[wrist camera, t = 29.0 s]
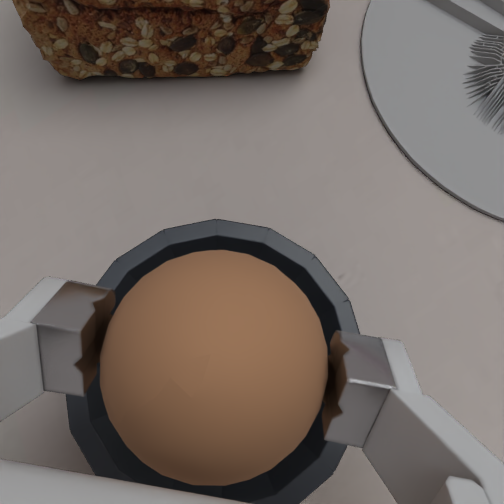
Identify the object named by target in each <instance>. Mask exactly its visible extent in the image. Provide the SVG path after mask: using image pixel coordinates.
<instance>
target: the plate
mask: <svg viewBox="0 0 504 504" xmlns="http://www.w3.org/2000/svg"><path fill="white" fill-rule="evenodd" d="M361 57H362V66H363V72H364V76H365V80H366V84H367V88H368V91H369V94H370V97H371V100H372V103H373V105H374V107H375V109H376V111H377V113H378V115H379V117H380V119H381V120H382V122H383V124H384V126H385V127H386V129H387V131H388V132H389V134H390V135H391V137H392V138H393V139H394V141H395V142H396V143H397V145H398V146H399V147H400V149H401V150H402V151H403V152H404V153H405V155H406V156H407V157H408V158H409V159H410V160H411V162H412V163H413V164H415V165H416V166H417V167H418V168H419V169H420V170H421V171H422V172H423V173H424V174H425V175H426V176H428V177H429V178H430V179H431V180H432V181H434V182H435V183H436V184H437V185H438V186H440V187H441V188H442V189H444V190H445V191H447V192H448V193H450V194H451V195H453V196H454V197H456V198H457V199H459V200H460V201H462V202H464V203H466V204H467V205H469V206H471V207H472V208H474V209H476V210H478V211H480V212H483V213H485V214H487V215H489V216H492V217H494V218H497V219H499V220H502V221H504V0H371V2H370V5H369V7H368V10H367V12H366V15H365V20H364V24H363V29H362V36H361Z"/></svg>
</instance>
